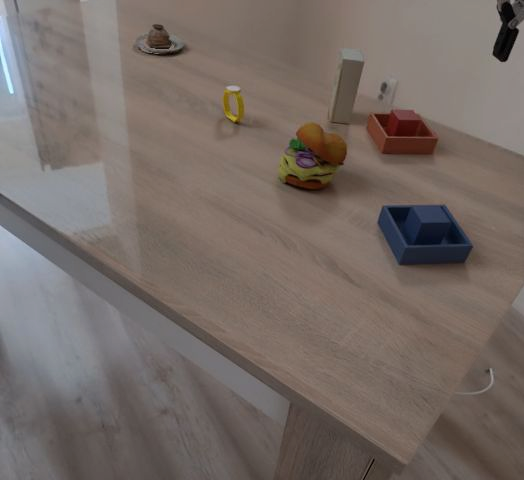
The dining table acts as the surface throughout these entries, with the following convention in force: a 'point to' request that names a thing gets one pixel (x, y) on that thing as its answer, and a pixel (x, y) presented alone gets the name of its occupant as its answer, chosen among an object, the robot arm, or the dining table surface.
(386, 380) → the dining table surface
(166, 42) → the pastry
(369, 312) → the dining table surface
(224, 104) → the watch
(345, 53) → the cosmetic box
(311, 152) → the cheeseburger
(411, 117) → the red block
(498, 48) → the robot arm
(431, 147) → the terracotta tray
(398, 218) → the blue tray
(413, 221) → the blue block
